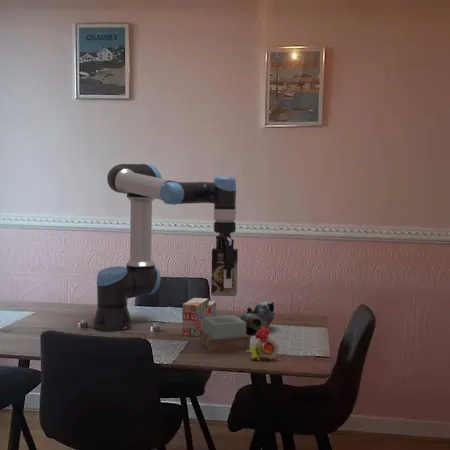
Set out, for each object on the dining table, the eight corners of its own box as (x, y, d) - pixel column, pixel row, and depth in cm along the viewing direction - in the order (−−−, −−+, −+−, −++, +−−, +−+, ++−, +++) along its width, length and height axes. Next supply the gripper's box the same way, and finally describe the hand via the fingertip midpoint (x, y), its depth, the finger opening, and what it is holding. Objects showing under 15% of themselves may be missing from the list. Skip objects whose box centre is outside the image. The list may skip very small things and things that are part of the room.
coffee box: (210, 296, 212) (211, 250, 210) (212, 292, 218) (212, 247, 217) (237, 296, 211) (237, 250, 210) (237, 292, 218) (237, 248, 216)
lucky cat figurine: (239, 325, 246) (254, 294, 248) (265, 338, 244) (280, 307, 246) (235, 323, 232) (251, 290, 234) (263, 337, 229) (279, 304, 231)
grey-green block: (202, 330, 220) (202, 317, 220) (233, 328, 224) (233, 314, 224) (213, 339, 209) (213, 325, 208) (246, 336, 213) (246, 322, 213)
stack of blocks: (202, 322, 251) (202, 293, 250) (216, 323, 249) (216, 294, 248) (182, 335, 231) (182, 303, 230) (197, 337, 229) (197, 304, 228)
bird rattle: (272, 362, 205) (248, 350, 207) (285, 333, 204) (261, 321, 205) (269, 368, 199) (244, 355, 201) (283, 339, 197) (258, 326, 199)
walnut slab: (200, 343, 222) (200, 329, 222) (236, 340, 226) (236, 327, 226) (211, 354, 209) (211, 339, 208) (249, 350, 213) (249, 336, 213)
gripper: (244, 223, 204) (243, 290, 206) (226, 218, 223) (226, 280, 225) (222, 223, 202) (222, 291, 203) (206, 219, 221) (206, 281, 223)
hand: (224, 285), depth 214 cm, fingers closed on coffee box, 8 cm apart
